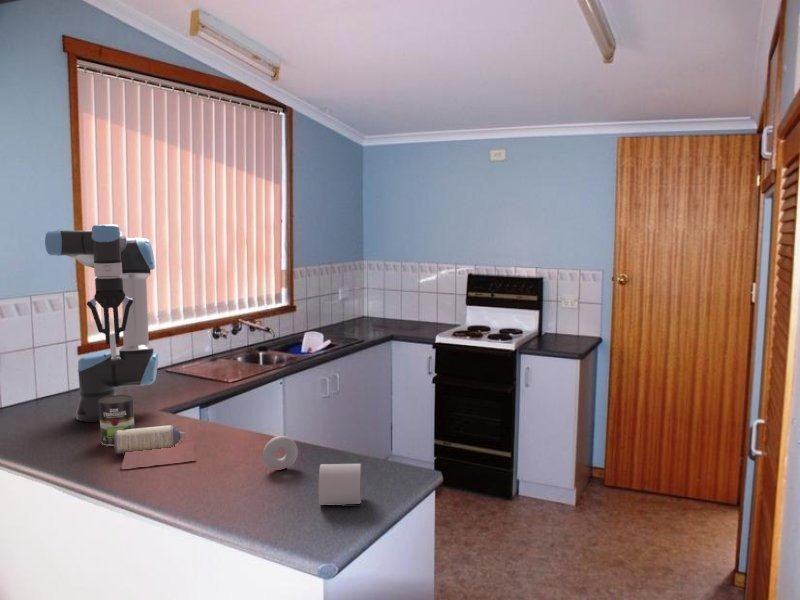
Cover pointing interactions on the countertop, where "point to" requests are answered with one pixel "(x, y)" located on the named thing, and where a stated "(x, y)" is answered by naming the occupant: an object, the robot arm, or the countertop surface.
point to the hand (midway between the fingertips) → (113, 354)
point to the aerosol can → (146, 438)
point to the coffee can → (115, 416)
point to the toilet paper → (340, 484)
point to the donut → (276, 444)
